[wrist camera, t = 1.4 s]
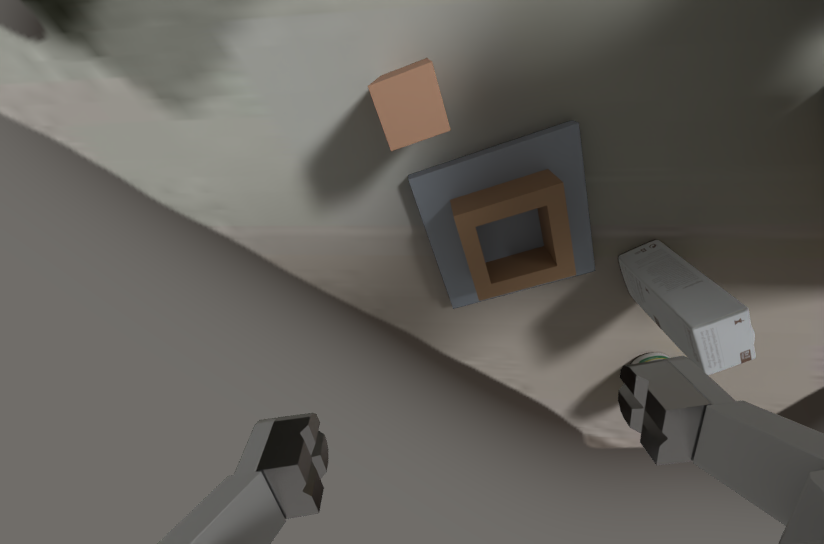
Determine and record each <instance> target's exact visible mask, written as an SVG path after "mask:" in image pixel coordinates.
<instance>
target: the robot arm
mask: <svg viewBox="0 0 824 544" xmlns="http://www.w3.org/2000/svg"><path fill="white" fill-rule="evenodd" d="M620 378H621V380H622V381H623V382H624V383H625V384H624V385H623V386H622V387H621V388H620V389H619V392H618V402H619V406H620V411H621V413H622V415H623V417H624V419H625V421H626V422H627V424H628V425H629V427H630V428H632V429H634V430H636V431H637V432H639V433H641V439H640V443H641V444H642V446H643V447H644V448H645V450H646V451H647V453H648V454H649V456H650V457H651V458H652V460H653V461H654V463H655V464H656V465H664V464H673V463H682V462H691V461H693V464H695V465H696V466H698V467H699V468H701V469H702V470H704V471H705V472H707V473H708V474H710V475H711V476H713V477H714V478H716V479H717V480H719V481H720V482H721V483H723V484H724V485H726V486H727V487H729V488H730V489H732V490H734V491H735V492H736V493H738V494H739V495H741V496H742V497H744V498H745V499H747V500H748V501H750V502H751V503H753V504H754V505H756V506H757V507H759V508H760V509H762V510H763V511H764V512H766V513H767V514H769V515H770V516H772V517H773V518H775V519H776V520H778V521H779V522H781V523H782V524H784V525H785V526H786V528H785V530H784V532H783V534H782V536H781V539H780V541H779V544H824V434H823V433H820V432H818V431H815V430H813V429H811V428H808V427H806V426H803V425H801V424H798V423H796V422H794V421H791V420H789V419H786V418H783V417H782V416H779V415H777V414H774V413H772V412H769V411H767V410H765V409H762V408H760V407H757V406H755V405H752V404H750V403H748V402H745V401H735V400H734V399H733V398H732V397H731V396H730V395H729V394H728V393H727V392H726V391H724V390H723V389H722V388H721V387H720V386H719V385H718V384H717V383H716V382H715V381H713V380H712V379H711V378H710V377H709V376H708V375H707V374H706V373H705V372H704V371H702V370H701V369H700V368H699V367H698V366H697V365H696V364H695V363H694V362H693V361H692V360H690V359H689V358H687V357H685V356H679V357H672V358H666V359H662V360H655V361H648V362H642V363H636V364H630V365H624V366H623V367H622V369H621V372H620ZM319 425H320V422H319V419H318V417H317V414H315V413H308V414H300V415H293V416H285V417H278V418H272V419H264V420H259V421H258V422H257V423H256V424H255V426H254V428H253V430H252V433H251V436H250V438H249V440H248V442H247V445H246V447H245V450H244V452H243V454H242V457H241V459H240V461H239V464H238V466H237V468H236V471H235V474H234V475H232V476H228V477H227V478H226V479H224V480H223V481H222V482H221V483H220V484H219V485H218V486H217V487H216V488H215V489H214V490H213V491H212V492H211V493H210V494H209V495H208V496H207V497H206V498H205V499H203V501H201V502H200V504H198V505H197V506H196V507H195V508H194V509H193V510H192V511H191V512H190V513H189V514H188V515H187V516H186V517H185V518H184V519H182V520H181V521H180V522H179V523H178V524H177V525H176V526H175V527H174V528H173V529H172V530H171V531H170V532H169V533H168V534H167V535H166V536H165V537H164V538H163V539H162V540H160V541H159V542H158V543H157V544H271V542H272V541H273V539H274V538H275V536H276V535H277V534H278V532H279V531H280V529H281V528H282V526H283V525H284V524H285V522H286V520H285V519H289V518H295V517H301V516H307V515H312V514H318V513H319V511H320V505H321V500H322V495H323V489H324V487H323V485H322V482H321V478H322V477H323V475H324V474H325V473H326V472H327V466H328V445H327V440H326V437H325V435H324V434H323V433H321V432H320V431H318V430H319Z"/></svg>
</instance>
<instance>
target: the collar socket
mask: <svg viewBox="0 0 824 544" xmlns="http://www.w3.org/2000/svg"><path fill="white" fill-rule="evenodd" d="M408 180H409V183H410V186H411V189H412V192H413V195H414V198H415V201H416V203H417V206H418V209H419V212H420V215H421V218H422V221H423V223H424V226H425V229H426V232H427V235H428V238H429V241H430V244H431V246H432V249H433V252H434V255H435V258H436V261H437V264H438V266H439V269H440V272H441V275H442V278H443V281H444V284H445V287H446V289H447V292H448V295H449V298H450V301H451V304H452V307H453V309H454V308H458V307H462V306H466V305H469V304H473V303H477V302H481V301H484V300H488V299H492V298H496V297H499V296H503V295H507V294H511V293H514V292H518V291H522V290H526V289H529V288H533V287H537V286H541V285H544V284H548V283H552V282H555V281H559V280H563V279H567V278H570V277H574V276H578V275H582V274H585V273H589V272H593V271H595V264H594V255H593V246H592V236H591V227H590V218H589V209H588V200H587V191H586V182H585V173H584V164H583V155H582V146H581V137H580V128H579V123H578V122H576V121H573V120H571V121H568V122H565V123H562V124H559V125H556V126H553V127H550V128H547V129H544V130H541V131H538V132H535V133H532V134H529V135H526V136H523V137H520V138H517V139H514V140H512V141H509V142H506V143H503V144H500V145H497V146H494V147H491V148H488V149H485V150H482V151H479V152H476V153H473V154H470V155H467V156H464V157H461V158H458V159H455V160H452V161H449V162H446V163H443V164H440V165H437V166H434V167H431V168H428V169H425V170H422V171H419V172H416V173H413V174H410V175H408Z"/></svg>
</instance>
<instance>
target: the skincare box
mask: <svg viewBox="0 0 824 544" xmlns="http://www.w3.org/2000/svg"><path fill="white" fill-rule="evenodd" d="M618 260H619V264H620V268H621V271H622V274H623V277H624V280H625V283H626V286H627V288H628V291H629V293H630V295H631V297H632V298H633V299H634V300H635V301H636V302H637V303H638V304H639V305H640V307H641V308H642V309H643V310H644V311H645V312H646V313H647V314H648V315H649V316H650V317H651V318H652V319H653V321H654V322H655V323H656V324H657V325H658V326H659V327H660V328H661V329H662V330H663V331H664V332H665V333H666V335H667V336H668V337H669V338H670V339H671V340H672V341H673V342H674V343H675V344H676V345H677V346H678V347H679V348H680V350H681V351H682V352H683V353H684V354H685V355H686V356H687V357H688V358H689V359H690V360H692V361H693V362H694V363H695V364H696V365H697V366H698V367H699V368H700V369H701V370H702V371H704V372H705V373H706V374H707V375H710V374H713V373H716V372H719V371H722V370H725V369H727V368H730V367H733V366H736V365H738V364H741V363H744V362H746V361H749V360H752V359H755V358H756V354H755V347H754V341H755V333H754V330H753V328H752V326H751V321H750V314H749V309H748V308H747V307H746V306H745V305H744V304H742V303H741V302H740V301H739V300H737V299H736V298H735V297H733V296H732V295H731V294H729V293H728V292H727V291H725V290H724V289H723V288H721V287H720V286H719V285H717V284H716V283H715V282H713V281H712V280H711V279H709V278H708V277H707V276H705V275H704V274H703V273H701V272H700V271H699V270H697V269H696V268H695V267H694V266H692V265H691V264H690V263H688V262H687V261H686V260H684V259H683V258H682V257H681V256H679V255H678V254H677V253H675V252H674V251H673V250H671V249H670V248H669V247H667V246H666V245H665V244H663V243H662V242H661V241H659V240H654V241H652V242H649V243H647V244H644V245H642V246H639V247H637V248H635V249H633V250H630V251H628V252H626V253H624V254H621V255H620V256H619V259H618Z"/></svg>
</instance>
